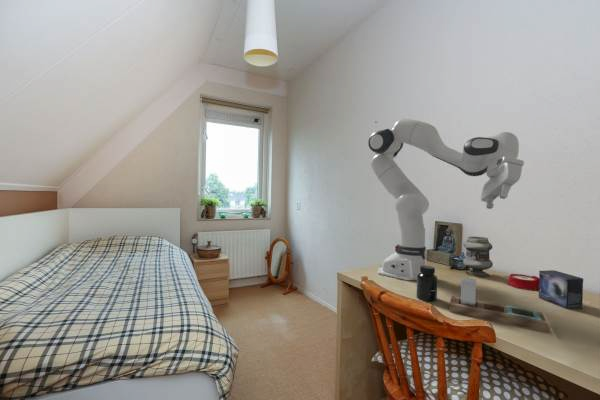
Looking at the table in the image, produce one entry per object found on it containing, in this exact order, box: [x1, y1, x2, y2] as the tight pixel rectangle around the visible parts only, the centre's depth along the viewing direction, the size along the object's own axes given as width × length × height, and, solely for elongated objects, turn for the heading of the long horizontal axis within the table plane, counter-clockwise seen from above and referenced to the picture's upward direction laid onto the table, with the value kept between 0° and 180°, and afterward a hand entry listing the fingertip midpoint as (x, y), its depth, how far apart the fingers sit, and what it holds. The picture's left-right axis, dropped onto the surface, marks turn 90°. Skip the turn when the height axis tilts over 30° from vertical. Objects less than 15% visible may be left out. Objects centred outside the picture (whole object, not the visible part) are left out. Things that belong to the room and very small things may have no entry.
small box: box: [538, 269, 584, 310], centre depth 100 cm, size 11×6×10 cm, turn 5°
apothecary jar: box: [462, 235, 494, 278], centre depth 135 cm, size 12×12×18 cm
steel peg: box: [460, 276, 477, 307], centre depth 91 cm, size 4×4×10 cm
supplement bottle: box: [416, 265, 439, 303], centre depth 101 cm, size 7×7×12 cm
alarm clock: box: [502, 273, 539, 291], centre depth 118 cm, size 10×6×15 cm
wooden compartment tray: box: [448, 295, 549, 333], centre depth 87 cm, size 24×9×3 cm, turn 57°
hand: (496, 203), depth 100 cm, fingers open, 8 cm apart
